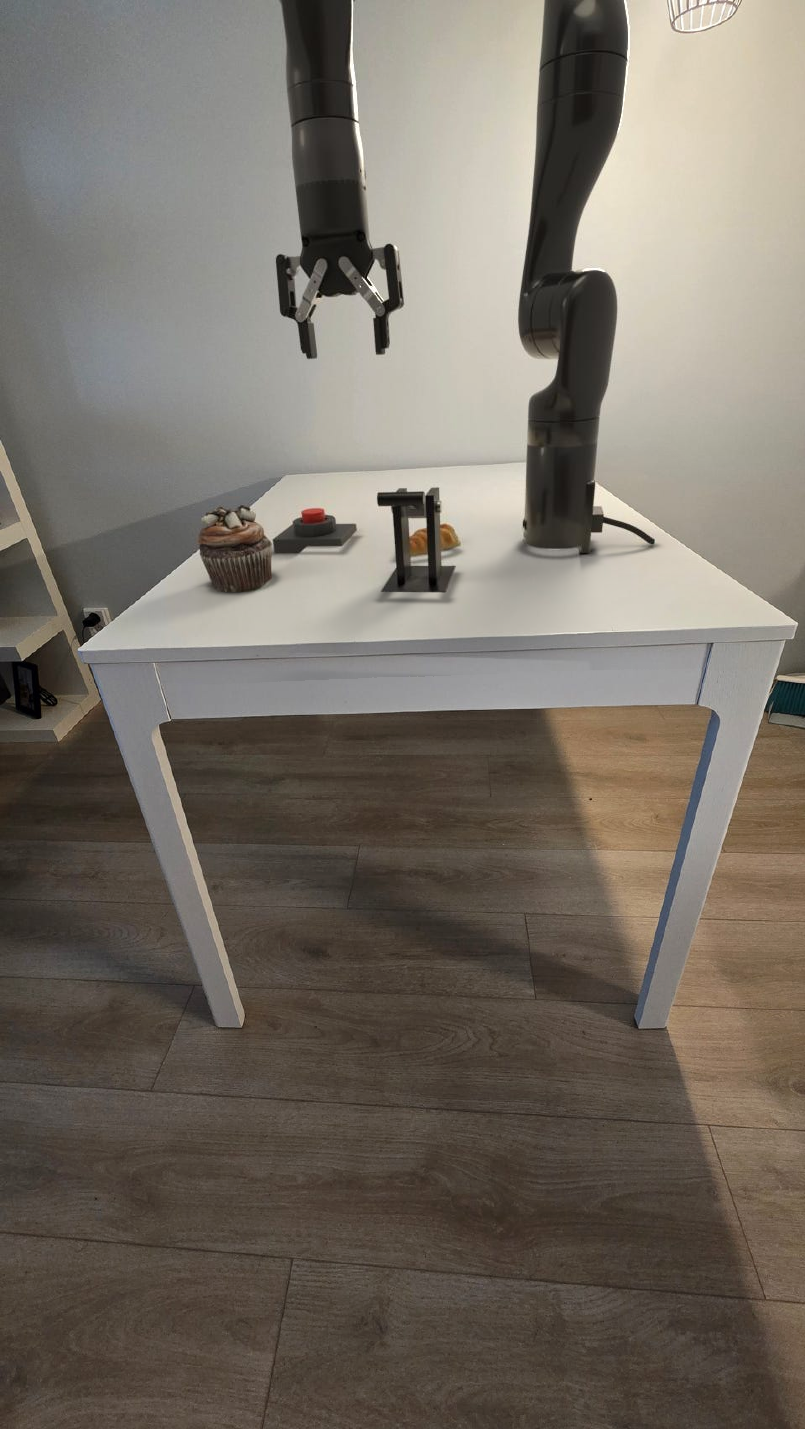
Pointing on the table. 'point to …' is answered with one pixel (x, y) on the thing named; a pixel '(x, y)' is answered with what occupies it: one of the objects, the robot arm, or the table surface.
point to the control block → (312, 535)
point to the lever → (405, 502)
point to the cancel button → (313, 515)
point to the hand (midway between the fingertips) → (346, 356)
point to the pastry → (420, 540)
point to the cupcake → (235, 550)
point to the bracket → (434, 573)
